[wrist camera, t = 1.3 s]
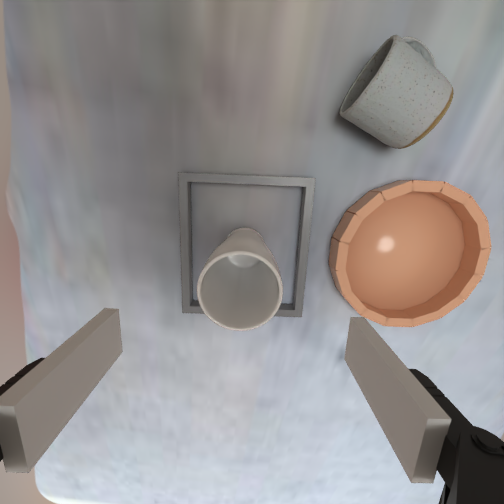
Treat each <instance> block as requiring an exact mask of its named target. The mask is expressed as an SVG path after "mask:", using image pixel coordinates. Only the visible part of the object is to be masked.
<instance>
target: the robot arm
mask: <svg viewBox="0 0 504 504" xmlns="http://www.w3.org/2000/svg"><path fill="white" fill-rule="evenodd" d="M122 352H123V351H122V341H121V330H120V320H119V309H109V308H105V309H103V310H102V311H101V312H100V313H99V314H97V315H96V316H95V317H94V318H93V319H91V320H90V321H89V322H88V323H87V324H86V325H84V326H83V327H82V328H81V329H80V330H78V331H77V332H76V333H75V334H74V335H72V336H71V337H70V338H69V339H68V340H66V341H65V342H64V343H63V344H62V345H61V346H59V347H58V348H57V349H56V350H55V351H53V352H52V353H51V354H50V355H49V356H47V357H46V358H40V359H38V360H36V361H34V362H32V363H30V364H28V365H27V366H25V367H24V368H23V369H22V370H20V371H19V372H18V373H17V374H15V376H14V377H12V378H10V379H9V380H8V381H7V382H6V383H5V384H3V385H2V386H1V387H0V461H1V460H2V459H3V462H4V466H5V470H6V472H17V473H29V472H30V471H31V469H32V468H33V467H34V466H35V464H36V463H37V462H38V460H39V459H40V458H41V457H42V455H43V454H44V453H45V451H46V450H47V449H48V448H49V446H50V445H51V444H52V442H53V441H54V440H55V438H56V437H57V436H58V435H59V433H60V432H61V431H62V429H63V428H64V427H65V426H66V424H67V423H68V422H69V420H70V419H71V418H72V416H73V415H74V414H75V413H76V411H77V410H78V409H79V407H80V406H81V405H82V404H83V402H84V401H85V400H86V398H87V397H88V396H89V394H90V393H91V392H92V391H93V389H94V388H95V387H96V385H97V384H98V383H99V381H100V380H101V379H102V378H103V376H104V375H105V374H106V372H107V371H108V370H109V369H110V367H111V366H112V365H113V363H114V362H115V361H116V359H117V358H118V357H119V356H120V354H121V353H122ZM344 359H345V361H346V363H347V365H348V367H349V368H350V370H351V372H352V374H353V376H354V378H355V379H356V381H357V383H358V385H359V387H360V389H361V391H362V392H363V394H364V396H365V398H366V400H367V402H368V404H369V405H370V407H371V409H372V411H373V413H374V415H375V417H376V418H377V420H378V422H379V424H380V426H381V428H382V430H383V431H384V433H385V435H386V437H387V439H388V441H389V442H390V444H391V446H392V448H393V450H394V452H395V454H396V455H397V457H398V459H399V461H400V463H401V465H402V467H403V468H404V470H405V472H406V474H407V476H408V478H409V480H410V481H411V483H433V482H434V478H435V475H436V471H438V472H439V474H440V475H441V477H442V478H443V480H444V481H445V485H444V488H443V491H442V495H441V498H440V501H439V504H504V442H503V441H502V440H501V439H499V438H498V437H497V436H495V435H494V434H492V433H490V432H488V431H487V430H484V429H481V428H479V427H476V426H473V425H472V424H471V423H470V422H469V421H468V420H467V419H466V418H465V417H464V416H463V415H462V413H461V412H460V411H459V410H458V409H457V408H456V407H455V406H454V405H453V404H452V403H451V402H450V401H449V399H448V398H447V397H445V396H444V394H443V393H442V392H441V391H440V390H439V389H437V386H436V385H435V384H434V383H433V382H432V381H431V380H430V379H429V378H428V377H427V376H425V375H424V374H422V373H421V372H420V371H418V370H417V369H408V368H407V367H406V366H405V365H404V363H403V362H402V361H401V360H400V359H399V358H398V356H397V355H396V354H395V353H394V352H393V351H392V349H391V348H390V347H389V346H388V345H387V344H386V342H385V341H384V340H383V339H382V338H381V337H380V335H379V334H378V333H377V332H376V331H375V330H374V328H373V327H372V326H371V325H370V324H369V323H368V321H367V320H366V319H365V318H364V317H351V318H350V325H349V332H348V338H347V345H346V352H345V358H344Z"/></svg>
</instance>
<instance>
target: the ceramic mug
mask: <svg viewBox="0 0 504 504" xmlns="http://www.w3.org/2000/svg"><path fill="white" fill-rule="evenodd" d="M452 98H453V88H452V85H451V84H450V82H449V81H448V79H447V78H446V77H445V76H444V75H443V74H442V73H441V72H440V71H439V70H438V69H436V63H435V60H434V58H433V55H432V54H431V52H430V51H429V49H428V48H427V47H426V46H425V45H424V44H423V43H422V42H421V41H419V40H417V39H415V38H413V37H403V38H401V37H399V36H398V35H393V36H391V37H390V38H389V39H387V40H386V41H385V42H384V44H383V45H382V46H381V47H380V48H379V49H378V50H377V52H376V53H375V54H374V55H373V57H372V58H371V59H370V60H369V62H368V63H367V64H366V66H365V67H364V68H363V70H362V71H361V73H360V74H359V76H358V77H357V79H356V81H355V82H354V84H353V85H352V87H351V88H350V90H349V92H348V94H347V95H346V97H345V99H344V101H343V103H342V106H341V109H340V115H341V116H342V117H343V118H345V119H347V120H348V121H350V122H351V123H353V124H354V125H356V126H358V127H359V128H361V129H362V130H364V131H365V132H367V133H369V134H371V135H372V136H374V137H375V138H377V139H378V140H380V141H381V142H382V143H384V144H386V145H388V146H391V147H393V148H398V149H401V148H406V147H409V146H411V145H413V144H415V143H416V142H418V141H419V140H421V139H422V138H423V137H425V136H426V135H427V134H428V133H429V132H430V131H431V130H432V129H433V128H434V127H435V126H436V125H437V124H438V122H439V121H440V120H441V119H442V117H443V116H444V115H445V113H446V111H447V110H448V108H449V106H450V104H451V101H452Z"/></svg>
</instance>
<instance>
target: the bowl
mask: <svg viewBox="0 0 504 504" xmlns="http://www.w3.org/2000/svg"><path fill="white" fill-rule="evenodd" d="M346 211H347V212H345V213H344V215H343V217H342V219H341V221H340V223H339V224H338V226H337V228H336V230H335V232H334V233H333V235H332V236H333V237H332V239H331V247H330V255H329V267H330V270H331V273H332V276H333V280H334V283H335V286H336V288H337V289H338V290H339V292H340V293H341V294H342V295H343V297H344V298H345V299H346V300H347V301H348V302H349V303H350V304H351V305H352V307H353V308H354V309H355V310H356V311H357V312H358V313H359V314H360V315H361V316H363V317H365V318H367V319H370V320H372V321H374V322H376V323H379V324H381V325H383V326H384V325H385V326H394V327H412V326H413V327H415V326H418V325H421V324H424V323H427V322H431V321H434V320H437V319H440V318H442V317H443V316H445V315H446V314H447V313H449V312H450V311H452V310H453V309H454V308H456V307H457V306H459V305H460V304H462V303H463V302H464V300H466V299H467V298H468V296H469V295H470V294H471V292H472V291H473V290H474V288H475V287H476V285H477V284H478V283H479V281H480V280H481V279H482V276H483V275H484V272H485V268H486V265H487V261H488V258H489V254H490V251H491V248H490V247H491V241H490V233H489V226H488V220H486V219H487V217H486V216H485V215H484V213H483V212H482V210H481V209H480V207H479V206H478V204H477V203H476V201H475V200H474V199H473V197H472V196H471V195H469V194H468V193H466V192H464V191H462V190H460V189H458V188H456V187H454V186H452V185H450V184H449V183H447V182H442V181H419V180H401V181H395V182H393V183H390V184H387V185H384V186H382V187H379V188H376V189H373V190H371V191H369V192H367V193H366V194H365V195H364V196H363V197H362V198H360V199H359V200H358V201H357V202H356V203H355V204H353V205H352V206H351V207H350V208H349V209H348V210H346ZM463 299H464V300H463Z"/></svg>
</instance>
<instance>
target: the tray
mask: <svg viewBox="0 0 504 504" xmlns="http://www.w3.org/2000/svg"><path fill="white" fill-rule="evenodd" d="M315 179H316V178H298V177H275V176H252V175H228V174H205V173H182V172H178V181H179V214H180V247H181V280H182V313H200V314H205V313H204V312H203V310H202V308H201V306H200V304H199V301H195V300H193V284H192V231H191V182H207V183H231V184H254V185H278V186H302V187H303V196H302V207H301V218H300V229H299V241H298V252H297V263H296V274H295V286H294V297H293V304H280V307H279V309H278V310H277V312H276V313H275V315H274V316H282V317H302V309H303V299H304V289H305V279H306V269H307V259H308V249H309V239H310V229H311V219H312V209H313V199H314V189H315Z"/></svg>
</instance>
